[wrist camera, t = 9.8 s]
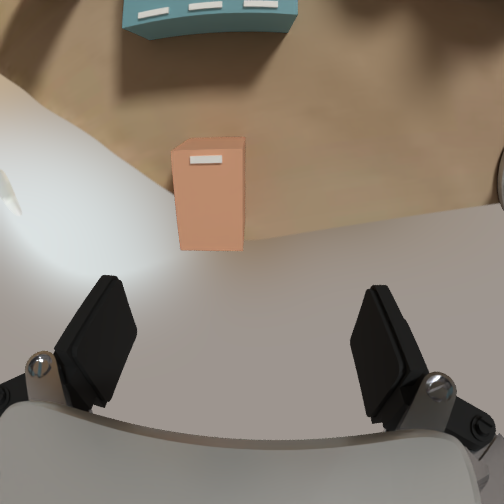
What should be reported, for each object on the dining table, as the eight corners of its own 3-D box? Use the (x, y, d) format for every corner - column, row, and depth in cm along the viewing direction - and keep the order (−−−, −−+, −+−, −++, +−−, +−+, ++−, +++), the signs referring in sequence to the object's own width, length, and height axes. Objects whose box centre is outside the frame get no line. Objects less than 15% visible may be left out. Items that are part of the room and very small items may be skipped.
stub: (245, 137, 24) (242, 149, 18) (245, 219, 28) (242, 252, 22) (189, 138, 24) (170, 151, 18) (194, 219, 28) (180, 251, 22)
